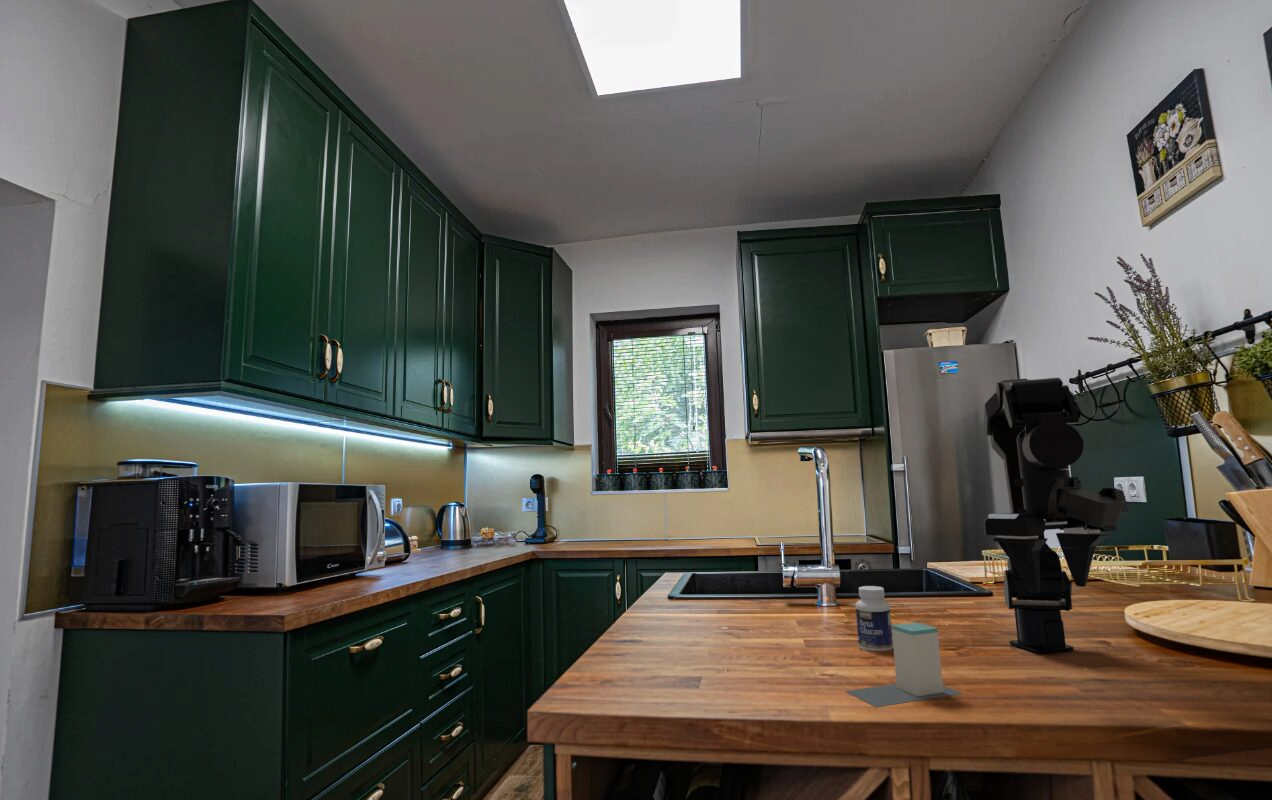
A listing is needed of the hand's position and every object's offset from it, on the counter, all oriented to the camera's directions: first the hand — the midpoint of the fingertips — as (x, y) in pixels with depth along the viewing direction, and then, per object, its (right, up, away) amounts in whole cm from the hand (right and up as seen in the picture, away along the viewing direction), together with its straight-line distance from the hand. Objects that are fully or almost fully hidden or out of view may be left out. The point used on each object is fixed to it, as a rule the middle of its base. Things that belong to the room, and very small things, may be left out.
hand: (1058, 589), depth 87 cm
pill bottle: (-16, -16, +21) cm, 31 cm away
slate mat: (-21, -13, -1) cm, 25 cm away
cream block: (-19, -13, -1) cm, 23 cm away
